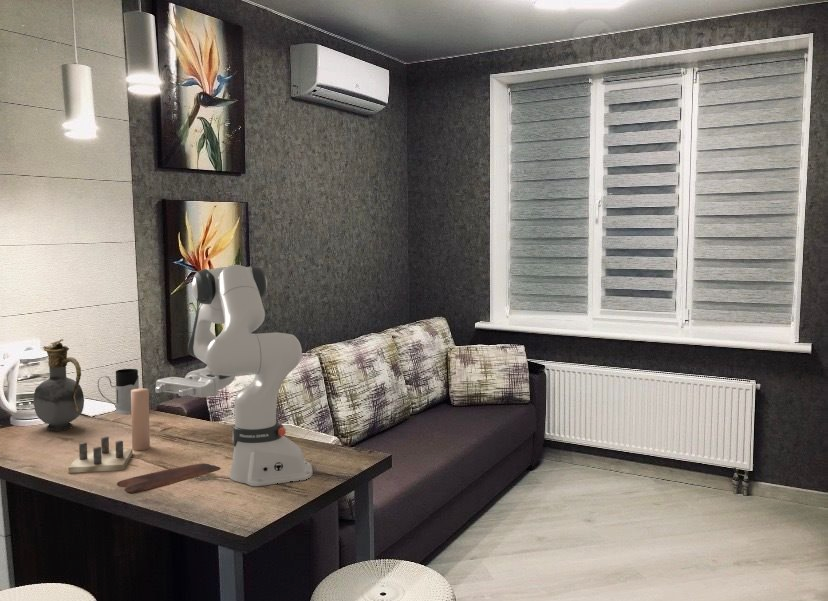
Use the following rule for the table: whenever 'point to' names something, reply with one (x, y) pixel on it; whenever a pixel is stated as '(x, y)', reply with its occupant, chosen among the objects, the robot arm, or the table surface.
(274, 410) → the robot arm
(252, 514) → the table surface
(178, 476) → the wooden tablet
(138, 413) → the post
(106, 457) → the peg stand
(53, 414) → the pitcher
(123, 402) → the glass holder
